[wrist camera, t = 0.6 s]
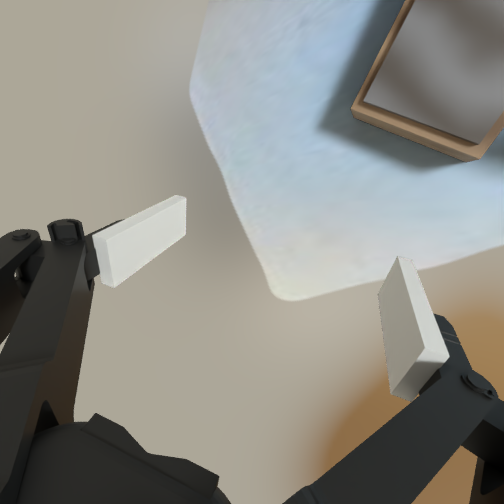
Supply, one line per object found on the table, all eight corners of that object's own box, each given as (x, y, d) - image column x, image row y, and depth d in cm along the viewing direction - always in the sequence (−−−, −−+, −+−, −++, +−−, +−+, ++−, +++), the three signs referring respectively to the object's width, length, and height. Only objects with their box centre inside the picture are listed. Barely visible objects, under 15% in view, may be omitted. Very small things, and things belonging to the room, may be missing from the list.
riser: (462, -94, 26) (481, -156, 21) (634, -68, 22) (703, -136, 17) (353, 117, 34) (349, 107, 29) (466, 162, 30) (482, 158, 25)
